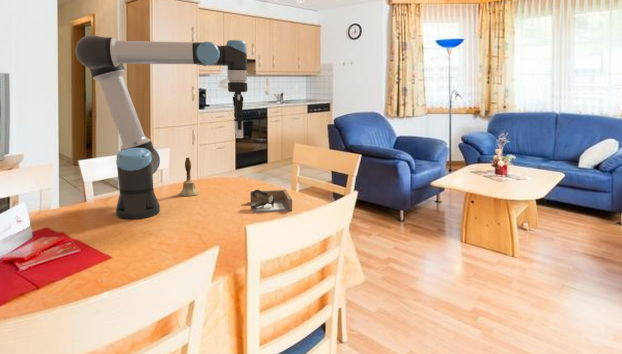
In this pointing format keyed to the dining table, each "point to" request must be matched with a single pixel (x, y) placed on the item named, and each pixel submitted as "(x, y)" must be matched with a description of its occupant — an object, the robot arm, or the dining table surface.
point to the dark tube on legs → (262, 198)
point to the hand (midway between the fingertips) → (238, 135)
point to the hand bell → (188, 182)
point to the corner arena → (281, 201)
